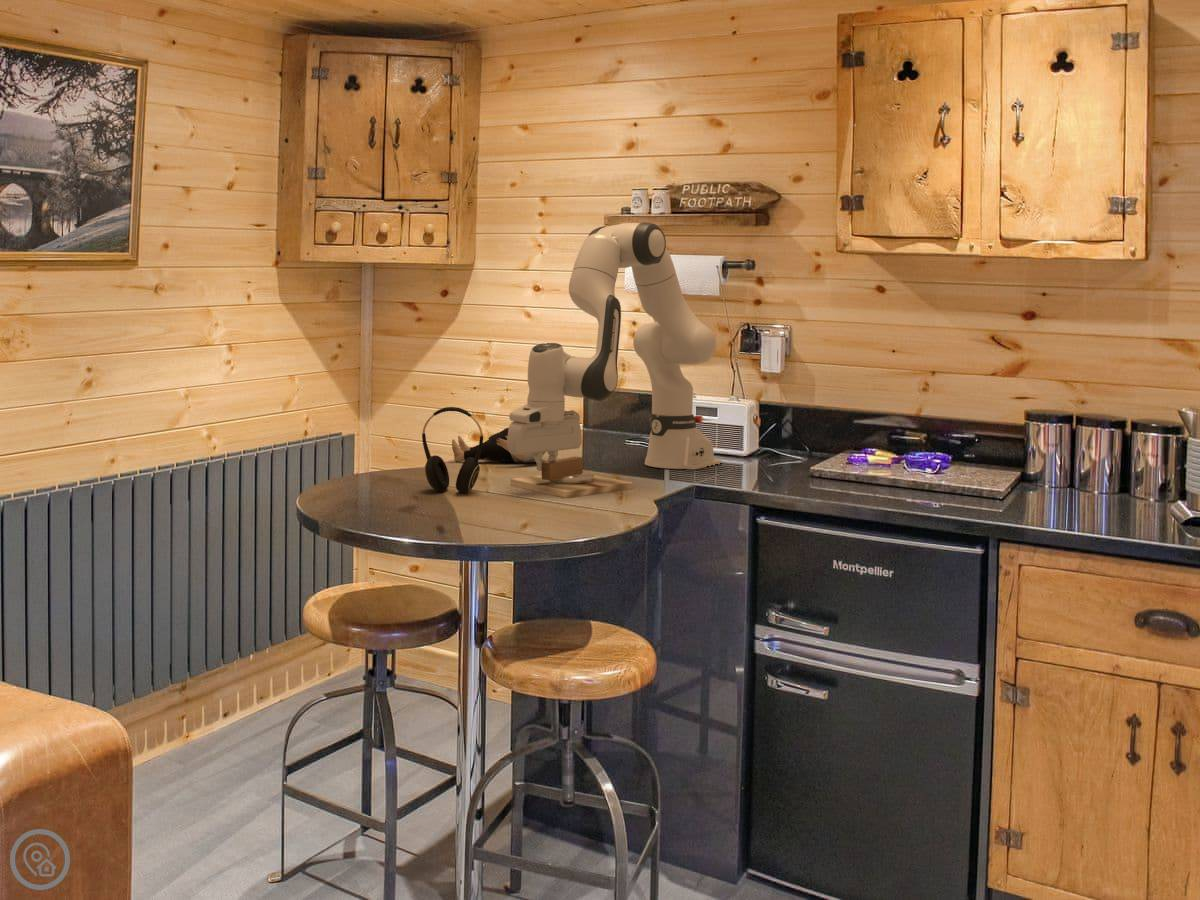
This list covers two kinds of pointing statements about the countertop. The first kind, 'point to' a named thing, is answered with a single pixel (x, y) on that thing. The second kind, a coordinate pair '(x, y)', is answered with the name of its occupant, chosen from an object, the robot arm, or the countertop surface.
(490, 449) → the figurine
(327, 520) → the countertop surface
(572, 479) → the dial
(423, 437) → the headphones
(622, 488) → the dial plate
